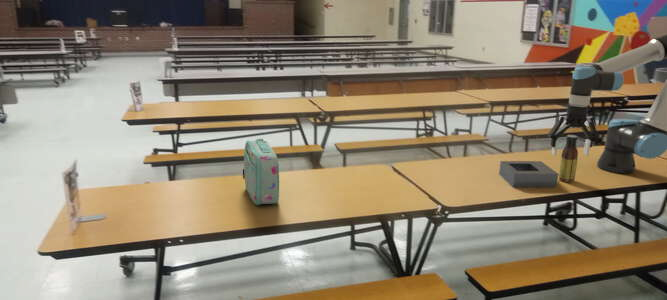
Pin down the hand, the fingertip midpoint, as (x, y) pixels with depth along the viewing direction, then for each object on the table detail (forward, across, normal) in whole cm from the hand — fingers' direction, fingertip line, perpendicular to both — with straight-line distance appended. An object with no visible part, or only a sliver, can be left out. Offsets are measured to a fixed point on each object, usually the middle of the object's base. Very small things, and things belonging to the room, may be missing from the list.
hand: (569, 154), depth 197 cm
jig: (+12, +16, 0) cm, 20 cm away
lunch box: (+14, +128, +17) cm, 129 cm away
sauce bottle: (+12, 0, 0) cm, 12 cm away
